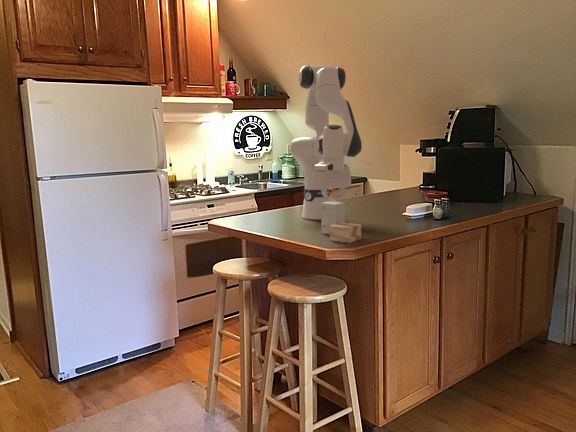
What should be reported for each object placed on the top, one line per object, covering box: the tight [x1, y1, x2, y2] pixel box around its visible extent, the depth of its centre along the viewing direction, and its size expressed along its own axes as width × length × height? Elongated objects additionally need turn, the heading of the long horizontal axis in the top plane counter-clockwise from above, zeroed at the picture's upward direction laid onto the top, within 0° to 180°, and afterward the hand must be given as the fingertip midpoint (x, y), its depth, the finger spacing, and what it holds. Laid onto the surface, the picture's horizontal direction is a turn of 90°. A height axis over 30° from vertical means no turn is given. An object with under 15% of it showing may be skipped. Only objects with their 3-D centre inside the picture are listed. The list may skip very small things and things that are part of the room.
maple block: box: [329, 221, 362, 244], centre depth 206 cm, size 9×9×6 cm
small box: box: [320, 201, 346, 235], centre depth 217 cm, size 8×6×13 cm
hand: (333, 198), depth 215 cm, fingers open, 8 cm apart
